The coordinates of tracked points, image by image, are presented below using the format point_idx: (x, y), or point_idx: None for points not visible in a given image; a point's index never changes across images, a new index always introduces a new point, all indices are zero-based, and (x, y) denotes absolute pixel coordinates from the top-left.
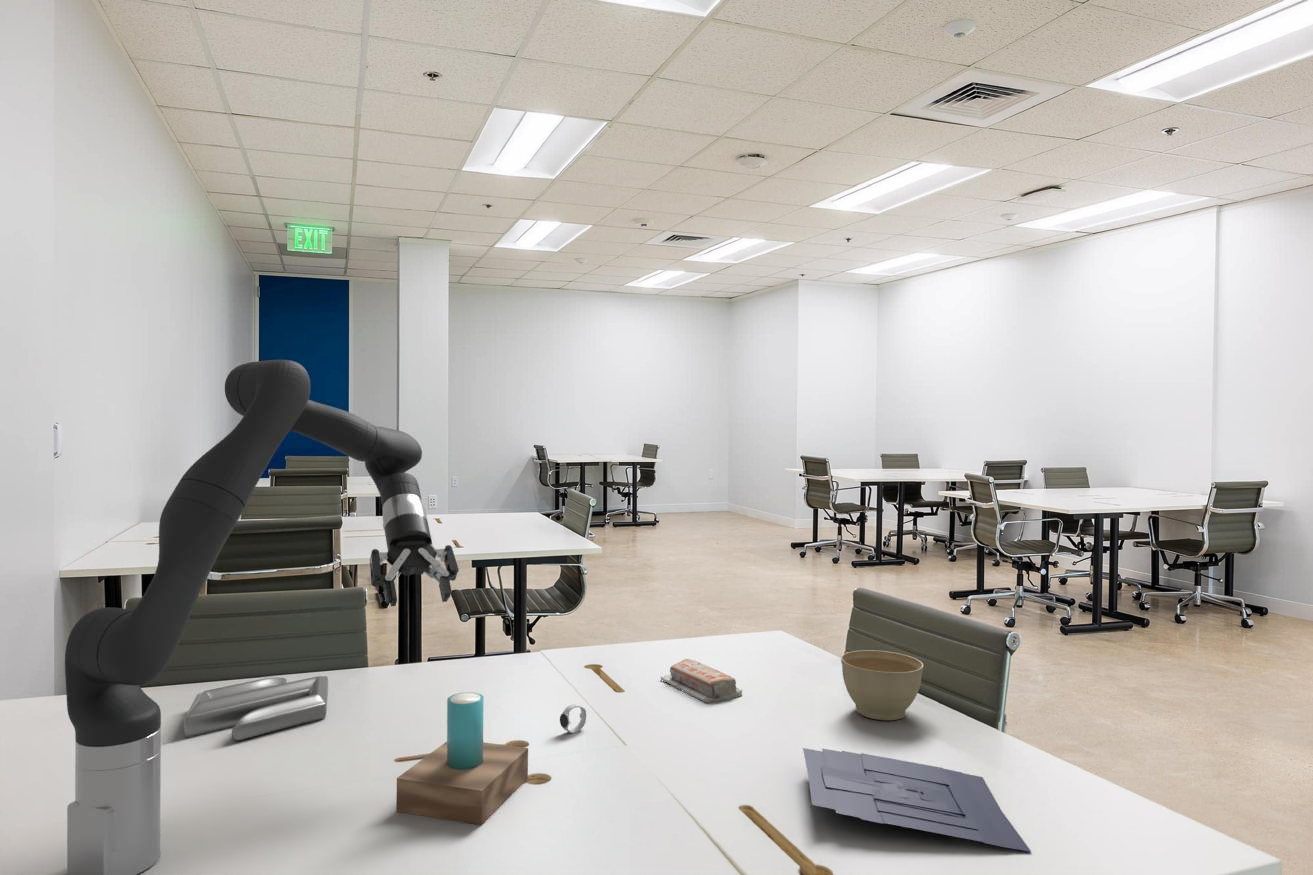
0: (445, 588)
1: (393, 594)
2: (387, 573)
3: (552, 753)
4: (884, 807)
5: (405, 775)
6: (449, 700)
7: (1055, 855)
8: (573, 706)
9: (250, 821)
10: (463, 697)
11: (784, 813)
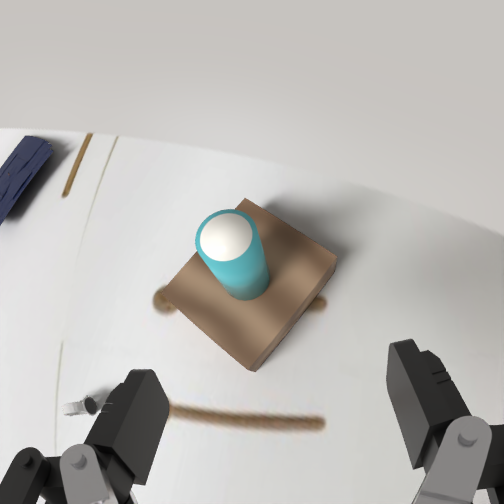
0: (129, 392)
1: (413, 354)
2: (484, 462)
3: (129, 359)
4: (31, 155)
5: (326, 261)
6: (253, 236)
7: (22, 134)
8: (69, 405)
9: (473, 295)
10: (227, 240)
11: (56, 182)
